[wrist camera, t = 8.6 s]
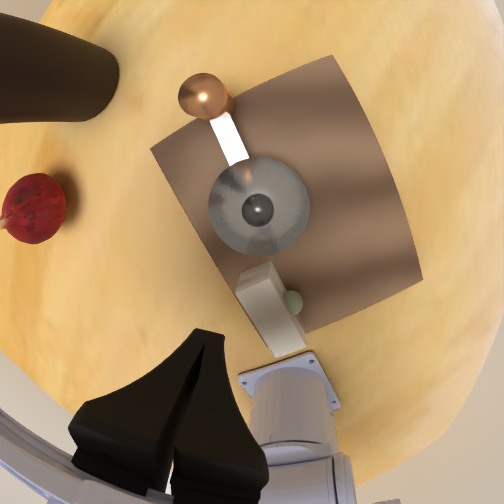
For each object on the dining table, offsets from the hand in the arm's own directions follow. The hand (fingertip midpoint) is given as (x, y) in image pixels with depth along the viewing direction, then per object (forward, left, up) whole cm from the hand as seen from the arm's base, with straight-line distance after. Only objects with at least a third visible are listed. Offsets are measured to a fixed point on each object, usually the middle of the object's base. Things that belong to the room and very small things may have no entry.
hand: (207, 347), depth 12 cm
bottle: (+19, +4, -11) cm, 23 cm away
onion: (+12, +12, -11) cm, 20 cm away
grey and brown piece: (+6, -4, -9) cm, 11 cm away
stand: (+1, -6, -10) cm, 12 cm away
